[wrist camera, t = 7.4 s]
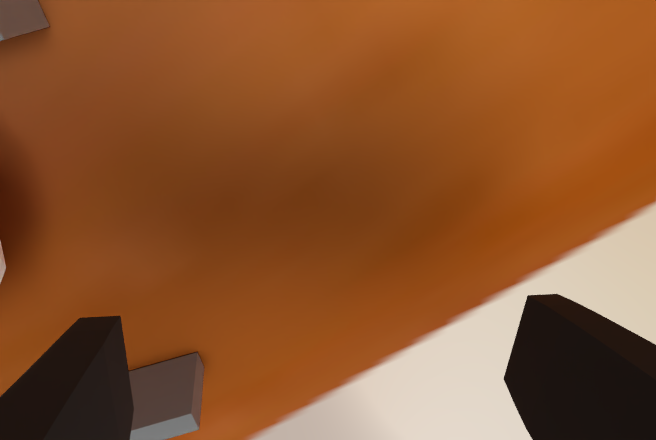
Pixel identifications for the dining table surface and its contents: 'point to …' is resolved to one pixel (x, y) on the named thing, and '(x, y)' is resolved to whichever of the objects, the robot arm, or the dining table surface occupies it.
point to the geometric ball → (2, 263)
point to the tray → (155, 380)
